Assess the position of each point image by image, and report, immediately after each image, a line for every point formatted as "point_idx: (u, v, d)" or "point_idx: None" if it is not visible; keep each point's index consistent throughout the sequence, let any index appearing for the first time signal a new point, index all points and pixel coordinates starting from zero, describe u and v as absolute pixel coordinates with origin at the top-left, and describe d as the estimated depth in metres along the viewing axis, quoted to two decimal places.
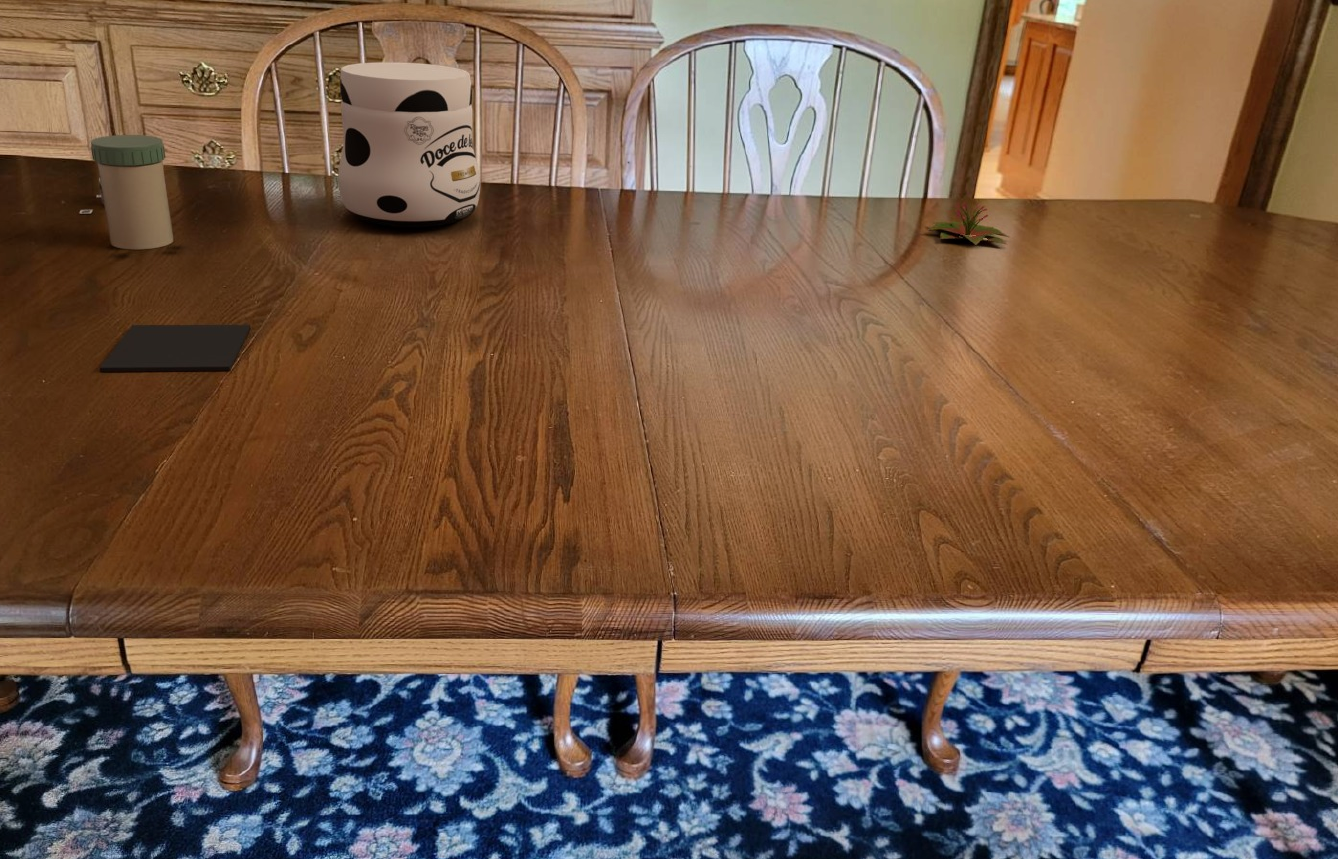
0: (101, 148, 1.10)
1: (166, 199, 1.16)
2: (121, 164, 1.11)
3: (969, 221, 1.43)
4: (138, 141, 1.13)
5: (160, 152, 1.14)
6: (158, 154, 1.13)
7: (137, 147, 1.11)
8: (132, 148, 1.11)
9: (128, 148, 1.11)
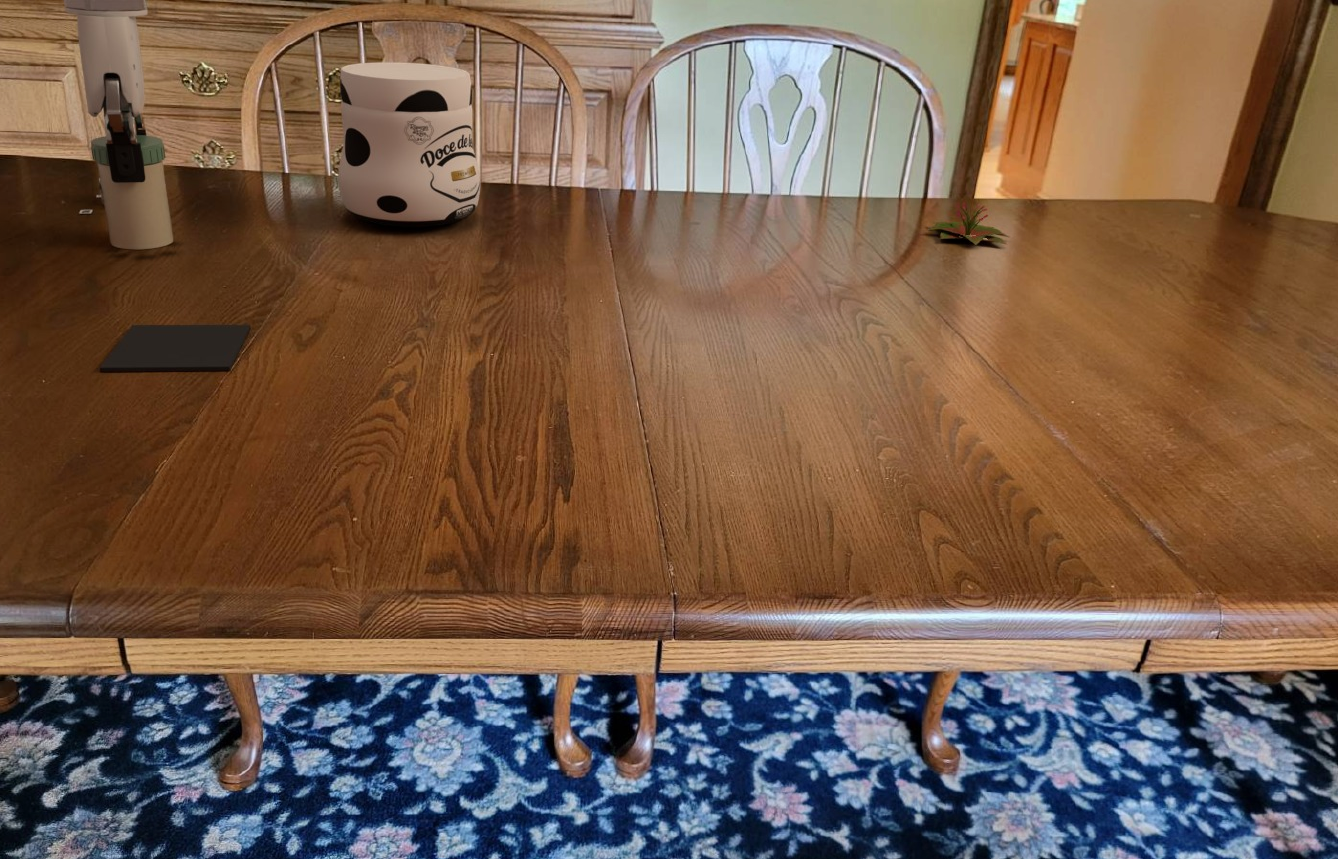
0: (101, 148, 1.10)
1: (166, 199, 1.16)
2: None
3: (969, 221, 1.43)
4: (138, 141, 1.13)
5: (160, 152, 1.14)
6: (158, 154, 1.13)
7: None
8: None
9: None
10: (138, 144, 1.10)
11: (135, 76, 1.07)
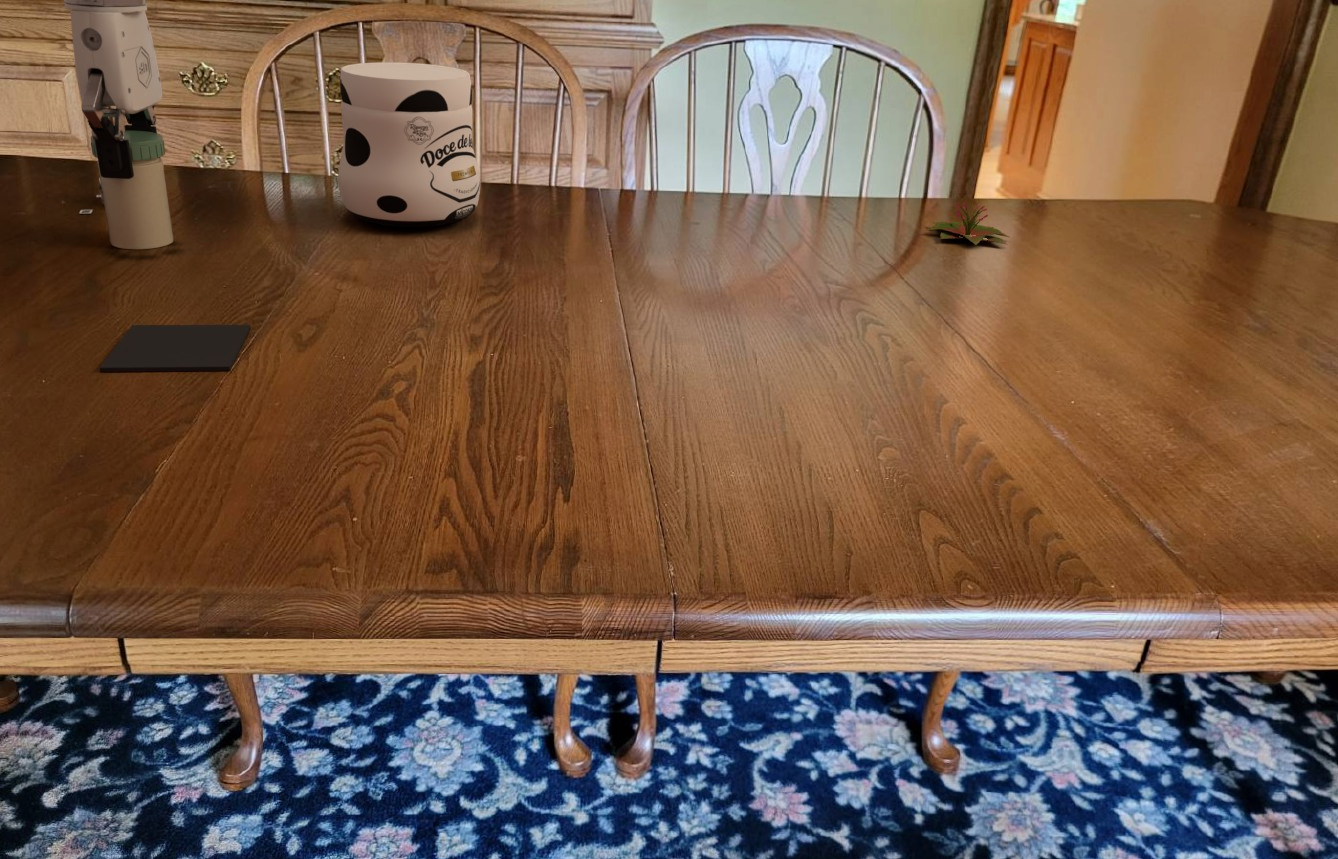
0: None
1: (166, 199, 1.16)
2: None
3: (969, 221, 1.43)
4: None
5: None
6: None
7: (127, 131, 1.16)
8: None
9: None
10: None
11: None
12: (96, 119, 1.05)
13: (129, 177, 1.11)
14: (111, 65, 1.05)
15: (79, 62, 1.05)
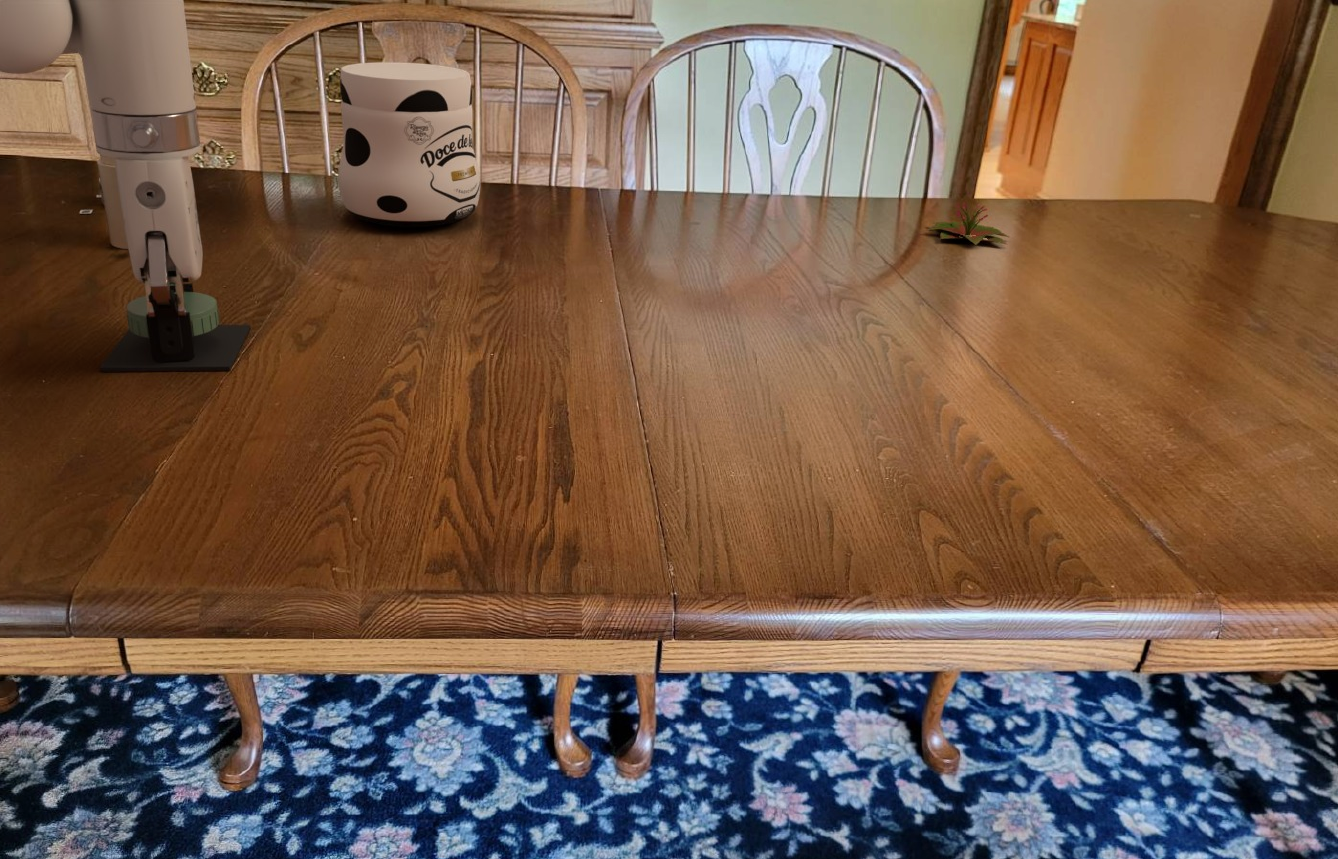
0: None
1: None
2: None
3: (969, 221, 1.43)
4: None
5: None
6: None
7: None
8: None
9: None
10: None
11: None
12: (165, 296, 0.82)
13: (191, 358, 0.88)
14: (177, 225, 0.82)
15: (133, 225, 0.81)
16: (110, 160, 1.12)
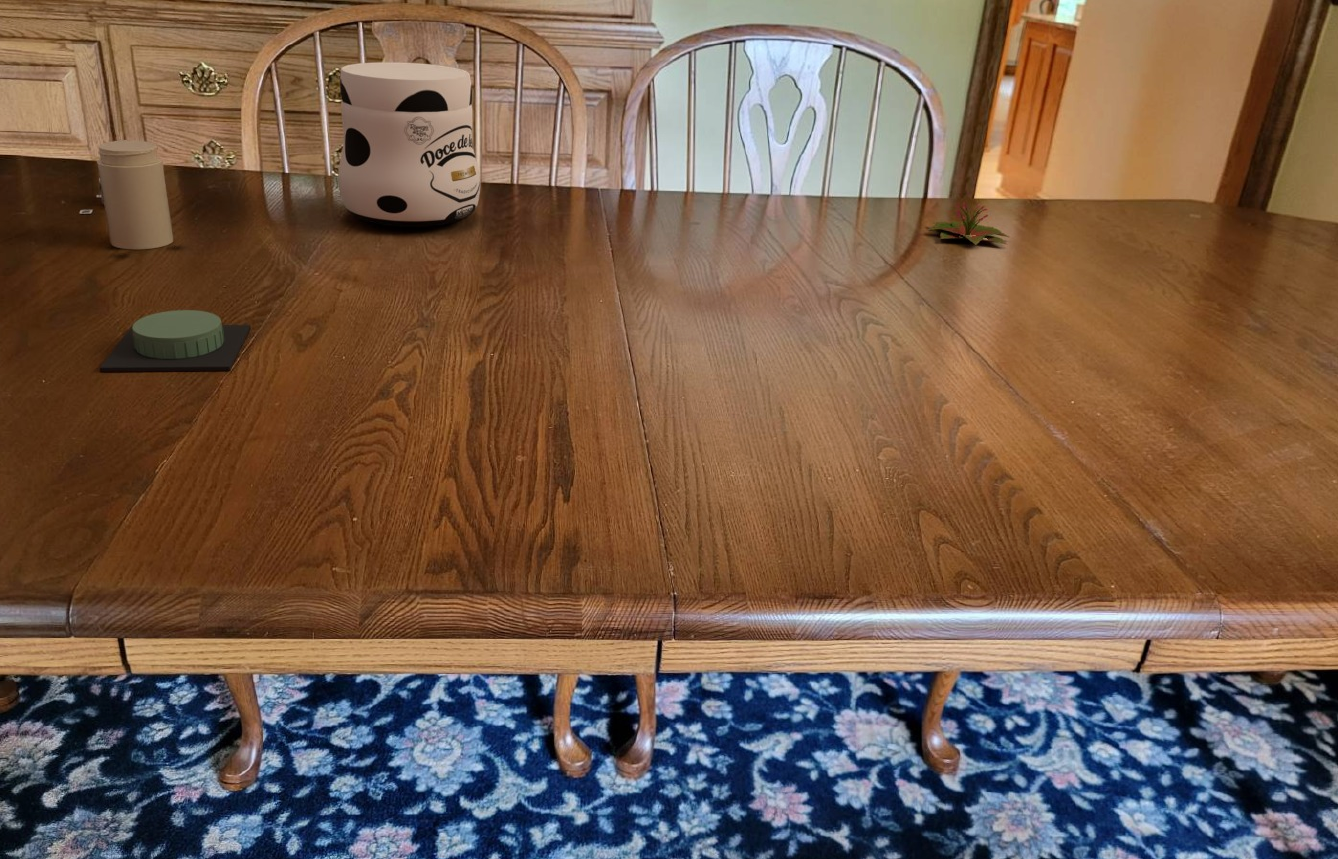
0: None
1: (166, 199, 1.16)
2: None
3: (969, 221, 1.43)
4: (162, 323, 0.90)
5: None
6: None
7: (163, 312, 0.92)
8: None
9: None
10: None
11: None
12: None
13: None
14: None
15: None
16: (110, 160, 1.12)
